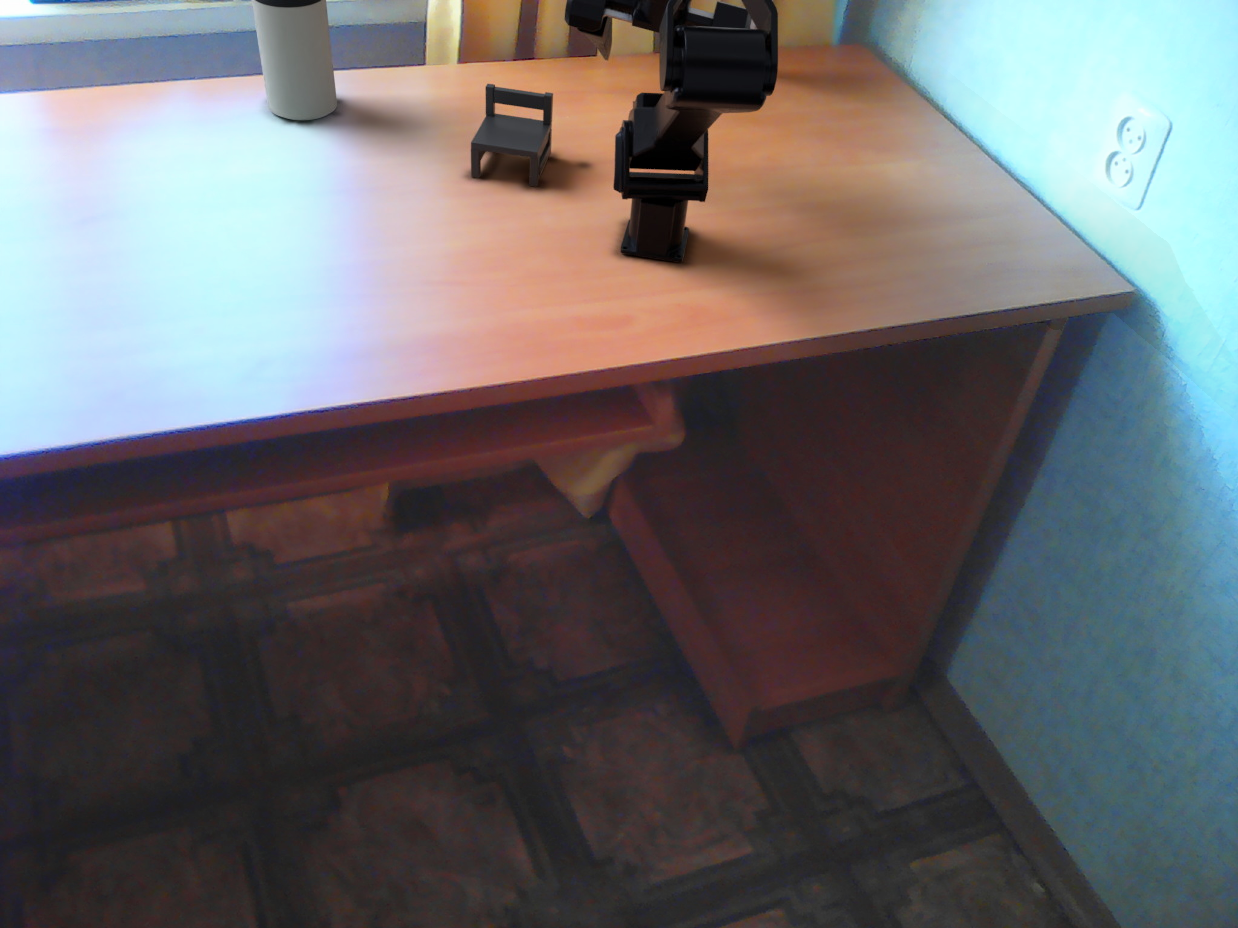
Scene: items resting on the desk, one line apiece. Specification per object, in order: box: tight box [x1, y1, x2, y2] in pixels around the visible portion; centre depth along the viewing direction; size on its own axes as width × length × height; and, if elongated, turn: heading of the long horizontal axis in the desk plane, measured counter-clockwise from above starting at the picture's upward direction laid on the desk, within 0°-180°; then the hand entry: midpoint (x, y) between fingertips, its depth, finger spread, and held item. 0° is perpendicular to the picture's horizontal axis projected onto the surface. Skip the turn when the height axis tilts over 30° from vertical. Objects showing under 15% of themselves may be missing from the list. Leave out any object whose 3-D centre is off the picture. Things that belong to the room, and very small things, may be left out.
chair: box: [470, 83, 554, 188], centre depth 118 cm, size 8×8×8 cm
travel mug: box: [251, 0, 338, 121], centre depth 121 cm, size 8×8×18 cm
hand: (647, 67), depth 117 cm, fingers open, 9 cm apart
